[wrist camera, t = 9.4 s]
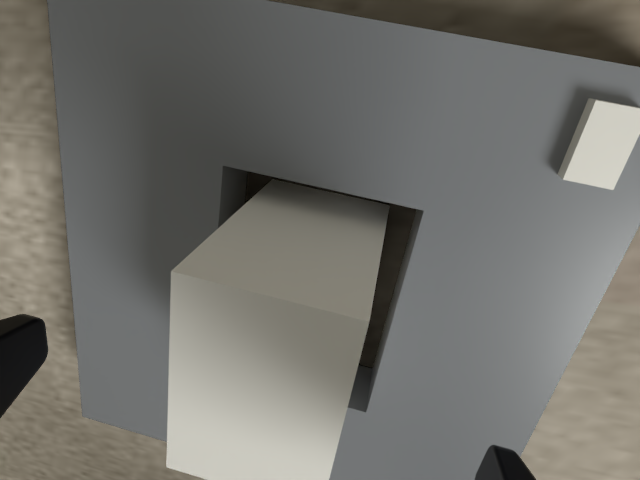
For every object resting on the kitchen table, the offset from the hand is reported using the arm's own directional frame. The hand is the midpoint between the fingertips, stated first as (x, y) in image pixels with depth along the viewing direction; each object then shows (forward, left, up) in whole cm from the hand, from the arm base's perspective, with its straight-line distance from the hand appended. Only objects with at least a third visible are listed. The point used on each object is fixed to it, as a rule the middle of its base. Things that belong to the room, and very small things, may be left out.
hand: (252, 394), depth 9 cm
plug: (0, 0, -6) cm, 6 cm away
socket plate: (0, 0, -6) cm, 6 cm away
